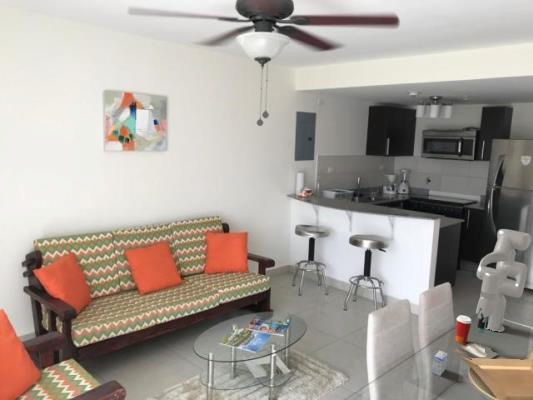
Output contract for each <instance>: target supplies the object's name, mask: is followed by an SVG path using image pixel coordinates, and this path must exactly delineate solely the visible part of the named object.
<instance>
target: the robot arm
mask: <svg viewBox="0 0 533 400" xmlns="http://www.w3.org/2000/svg"><path fill="white" fill-rule="evenodd" d="M496 234H497V241H496V243H495V246H494V249H493V251H492V252H491V253H488V254H486V255H485V256H484V257H482V258H481V260H480V262H479V265H478V267H477V269H476V277H477V278H478V279H479V280H481V281H482V283H481V289H480V295H479V296H480V297H479V299H478V303H477V305H476V310H475V314H476V315H477V319H478V323H477V328H478V329H479V328H481V329H484V326H485V317H487V316H488V317H487V322H486V328H485V330H488V329H490V330H489V331H491V330H492V331H491V332H494V331H498V332H497V333H502V332H504V331H505V327H504V326H503V323H504V322H505V319H504V318H505V317H504V316H505V312H506V307H507V306H506V305H507V299H506V297H505V296H509V297H512V298H517V299H519V298H521V297H522V295H523V293H524V289H525V284H526V278H527V276H528V274H527V273H528V266H527V265H526V264H525V263H524V262H520V261H515V260H516V259H515V258H516V256H517V252H516V250H518V251H525V250H527V249H528V248H529V247H530V245H531V242H532V235H531V234H530V233H527V232H522V231H519V230H512V229H507V228H501V229H499V230H498V231H497V233H496ZM493 263H496V266H495V268H493V267H490V266H489V267H488V265H489V264H493ZM508 277H509V278H508ZM511 278H513V279H511ZM514 279H515V280H514ZM504 295H505V296H504ZM482 317H483V318H482Z"/></svg>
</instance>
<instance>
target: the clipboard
mask: <svg viewBox="0 0 533 400" xmlns="http://www.w3.org/2000/svg"><path fill="white" fill-rule="evenodd" d="M485 349H489V350H492V348H491V347H489V346H487V345H484V344H482V343H476V342H475V341H471V342H469V343H466V344H464V345H462V346H460V347H459V348H456V349H455V350H454V353H456V354H459V355H461V356H463V357H465V358H466V359H469V358H480V357H486V356H487V354H486V353H485Z"/></svg>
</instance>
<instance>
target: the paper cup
mask: <svg viewBox="0 0 533 400" xmlns="http://www.w3.org/2000/svg"><path fill="white" fill-rule="evenodd" d="M472 323H473V322H472V319H471V317H469V316H467V315H458V316H457V317H456V327H455V328H456V329H455V337H454V338H455V340H454V342H456V343H458V344H460V345H467V342H468V337H469V335H470V330H471V325H472Z"/></svg>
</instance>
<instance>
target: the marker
mask: <svg viewBox="0 0 533 400" xmlns="http://www.w3.org/2000/svg"><path fill="white" fill-rule="evenodd" d="M487 317H488V316H487ZM487 317H485V326H484V329H481V328H478V333H480V334H485V333H486V332H485V331H486V322H487ZM482 318H483V317H482Z"/></svg>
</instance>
